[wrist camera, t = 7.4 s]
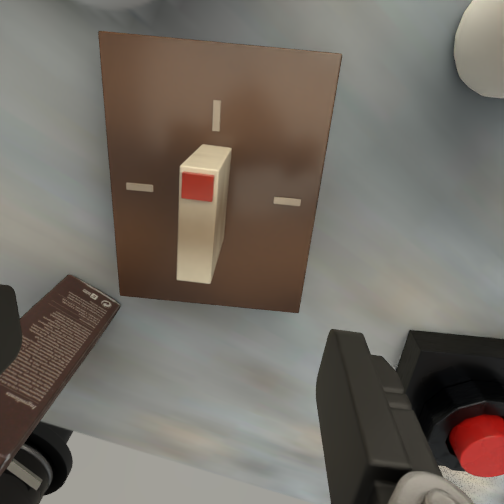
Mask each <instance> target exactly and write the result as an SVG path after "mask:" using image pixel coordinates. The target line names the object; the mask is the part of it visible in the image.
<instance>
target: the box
mask: <svg viewBox="0 0 504 504" xmlns="http://www.w3.org/2000/svg"><path fill="white" fill-rule="evenodd" d="M119 308H120V304H119V303H118V302H116V301H115V300H114V299H113V298H112V297H110V296H107V295H106V294H104V293H103V292H101V291H100V290H98V289H96V288H94V287H92V286H90V285H89V284H87V283H85V282H83V281H81V280H80V279H78V278H76V277H74V276H72V275H67V276H66V277H65V278H64V279H63V280H62V281H61V282H60V283H59V284H57V285H56V286H55V287H54V288H53V289H52V290H51V291H50V292H49V293H47V294H46V295H45V296H44V297H43V298H42V299H41V300H40V301H39V302H38V303H36V304H35V305H34V306H33V307H32V308H31V309H30V310H29V311H28V312H27V313H25V315H24V316H23V317H21V318H20V324H21V330H22V345H21V349H20V351H19V353H18V355H17V357H16V359H15V360H14V361H13V362H12V363H11V364H10V366H9V367H8V368H7V369H6V370H5V371H4V372H3V373H2V374H1V375H0V476H1V475H2V473H3V472H4V471H5V469H6V468H7V466H8V465H9V464H10V462H11V461H12V459H13V458H14V456H15V455H16V453H17V452H18V451H19V449H20V448H21V446H22V445H23V444H24V443H25V441H26V440H27V438H28V437H29V435H30V434H31V433H32V431H33V430H34V428H35V427H36V426H37V424H38V423H39V422H40V420H41V419H42V417H43V416H44V415H45V413H46V412H47V410H48V409H49V408H50V406H51V405H52V403H53V402H54V401H55V399H56V398H57V397H58V395H59V394H60V392H61V391H62V390H63V388H64V387H65V386H66V384H67V383H68V381H69V380H70V379H71V377H72V376H73V374H74V373H75V372H76V370H77V369H78V368H79V366H80V365H81V363H82V362H83V361H84V359H85V358H86V357H87V355H88V354H89V352H90V351H91V350H92V348H93V347H94V345H95V344H96V343H97V341H98V340H99V338H100V337H101V335H102V334H103V332H104V331H105V329H106V328H107V326H108V325H109V323H110V322H111V321H112V319H113V318H114V316H115V315H116V313H117V311H118V310H119Z"/></svg>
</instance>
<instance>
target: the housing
mask: <svg viewBox="0 0 504 504" xmlns="http://www.w3.org/2000/svg"><path fill="white" fill-rule="evenodd" d="M396 372H397V374H398V376H399V378H400V380H401V383H402V385H403V387H404V390H405V394H406V395H407V396H408V399H409V401H410V403H411V405H412V410H414V412H415V415H416V417H417V419H418V421H419V424H420V426H421V428H422V431H423V433H424V435H425V437H426V440H427V442H428V444H429V446H430V449H431V451H432V453H433V456H434V458H435V460H436V462H437V465H440V466H446V467H448V468H449V469H451V470H456V471H465V470H464V469H463V468H462V467H461V465H460V463H459V461H458V459H457V457H456V455H455V452H454V450H453V448H452V446H451V444H450V442H449V434H450V431H451V429H452V428H454V427H455V426H457V425H458V424H459V423H461V422H462V421H464V420H465V419H468V418H472V417H476V416H480V415H484V414H486V415H496V416H500V417H502V418H503V419H504V339H495V338H484V337H474V336H464V335H454V334H443V333H433V332H423V331H413V330H410V332H409V335H408V338H407V341H406V344H405V347H404V350H403V353H402V356H401V359H400V362H399V365H398V368H397V371H396Z"/></svg>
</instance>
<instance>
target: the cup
mask: <svg viewBox="0 0 504 504" xmlns="http://www.w3.org/2000/svg"><path fill="white" fill-rule="evenodd" d="M454 58H455V63H456V67H457V71H458V74H459V76H460V78H461V79H462V81H463V82H464V83H465V84H466V85H467V86H468V87H469V88H470V89H472V90H474V91H475V92H477V93H478V94H480V95H481V96H485V97H494V98H504V0H473V1H472V2H471V4H470V5H469V6H468V8H467V9H466V10H465V12H464V13H463V16H462V19H461V21H460V24H459V26H458V29H457V31H456V34H455V44H454Z"/></svg>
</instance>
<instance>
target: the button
mask: <svg viewBox="0 0 504 504" xmlns="http://www.w3.org/2000/svg"><path fill="white" fill-rule="evenodd" d="M449 442H450V444H451V446H452V448H453V450H454V452H455V455H456V457H457V459H458V461H459V463H460V465H461V467H462V468H463V469H464V470H465V471H466V472H468V473H470V474H472V475H475V476H480V477H494V476H499V475H503V474H504V419H503V418H502V417H500V416H496V415H486V414H484V415H480V416H476V417H472V418H468V419H465V420H464V421H462V422H461V423H459V424H458V425H457V426H455V427H454V428H452V429H451V431H450V434H449Z"/></svg>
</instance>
